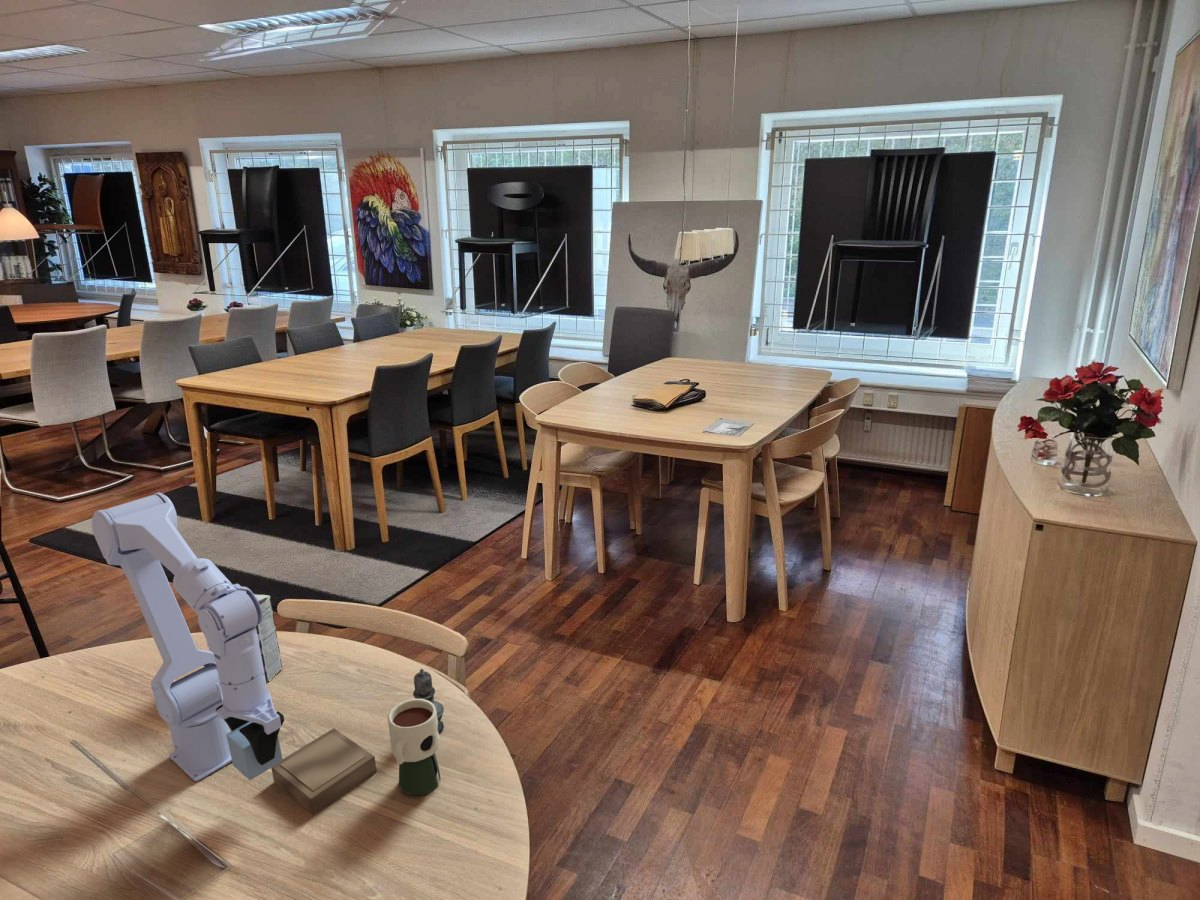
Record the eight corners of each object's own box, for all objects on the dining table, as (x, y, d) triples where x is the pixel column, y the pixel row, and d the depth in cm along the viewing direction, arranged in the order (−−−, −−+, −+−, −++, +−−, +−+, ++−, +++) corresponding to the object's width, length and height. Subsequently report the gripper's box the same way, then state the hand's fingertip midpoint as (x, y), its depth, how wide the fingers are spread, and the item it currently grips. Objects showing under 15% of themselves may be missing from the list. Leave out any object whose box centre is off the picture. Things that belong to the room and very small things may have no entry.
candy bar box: (216, 677, 143) (200, 601, 137) (234, 662, 147) (219, 587, 142) (267, 684, 140) (253, 607, 135) (284, 669, 145) (271, 593, 140)
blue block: (233, 765, 110) (225, 734, 108) (265, 746, 114) (259, 716, 112) (249, 780, 107) (242, 748, 105) (282, 760, 111) (276, 729, 109)
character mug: (426, 814, 110) (418, 740, 106) (382, 807, 111) (372, 734, 107) (455, 762, 120) (449, 693, 116) (414, 756, 121) (406, 688, 117)
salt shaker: (437, 742, 124) (430, 681, 120) (404, 738, 125) (397, 677, 122) (451, 719, 130) (445, 660, 126) (419, 716, 131) (412, 656, 127)
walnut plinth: (273, 782, 116) (270, 765, 115) (336, 743, 125) (333, 727, 124) (313, 815, 110) (310, 798, 109) (376, 771, 118) (374, 755, 117)
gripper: (189, 667, 107) (206, 746, 111) (238, 707, 98) (255, 791, 103) (237, 645, 112) (252, 721, 116) (288, 681, 103) (303, 762, 108)
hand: (257, 752), depth 110 cm, fingers closed on blue block, 5 cm apart
